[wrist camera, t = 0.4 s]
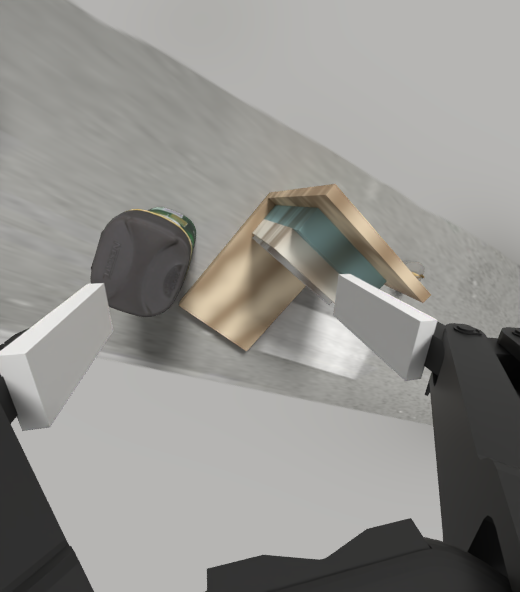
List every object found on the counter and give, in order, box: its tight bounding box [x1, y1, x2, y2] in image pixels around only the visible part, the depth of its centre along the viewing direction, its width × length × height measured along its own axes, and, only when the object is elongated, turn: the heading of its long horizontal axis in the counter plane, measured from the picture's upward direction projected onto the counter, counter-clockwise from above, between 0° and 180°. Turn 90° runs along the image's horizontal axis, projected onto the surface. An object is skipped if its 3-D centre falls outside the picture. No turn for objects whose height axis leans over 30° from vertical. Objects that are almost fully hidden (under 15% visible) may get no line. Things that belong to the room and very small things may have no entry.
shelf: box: [179, 184, 431, 351], centre depth 34 cm, size 14×22×22 cm, turn 138°
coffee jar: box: [91, 207, 196, 317], centre depth 31 cm, size 10×8×19 cm
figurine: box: [404, 262, 424, 281], centre depth 46 cm, size 5×4×6 cm
